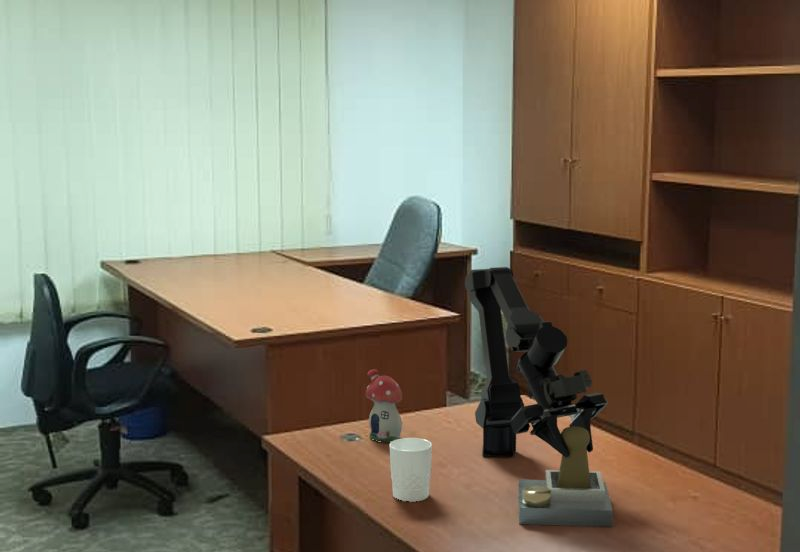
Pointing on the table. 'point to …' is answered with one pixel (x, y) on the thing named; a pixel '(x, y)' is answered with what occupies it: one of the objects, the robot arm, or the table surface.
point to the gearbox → (564, 502)
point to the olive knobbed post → (575, 459)
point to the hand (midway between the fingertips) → (579, 453)
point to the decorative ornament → (384, 407)
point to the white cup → (410, 468)
